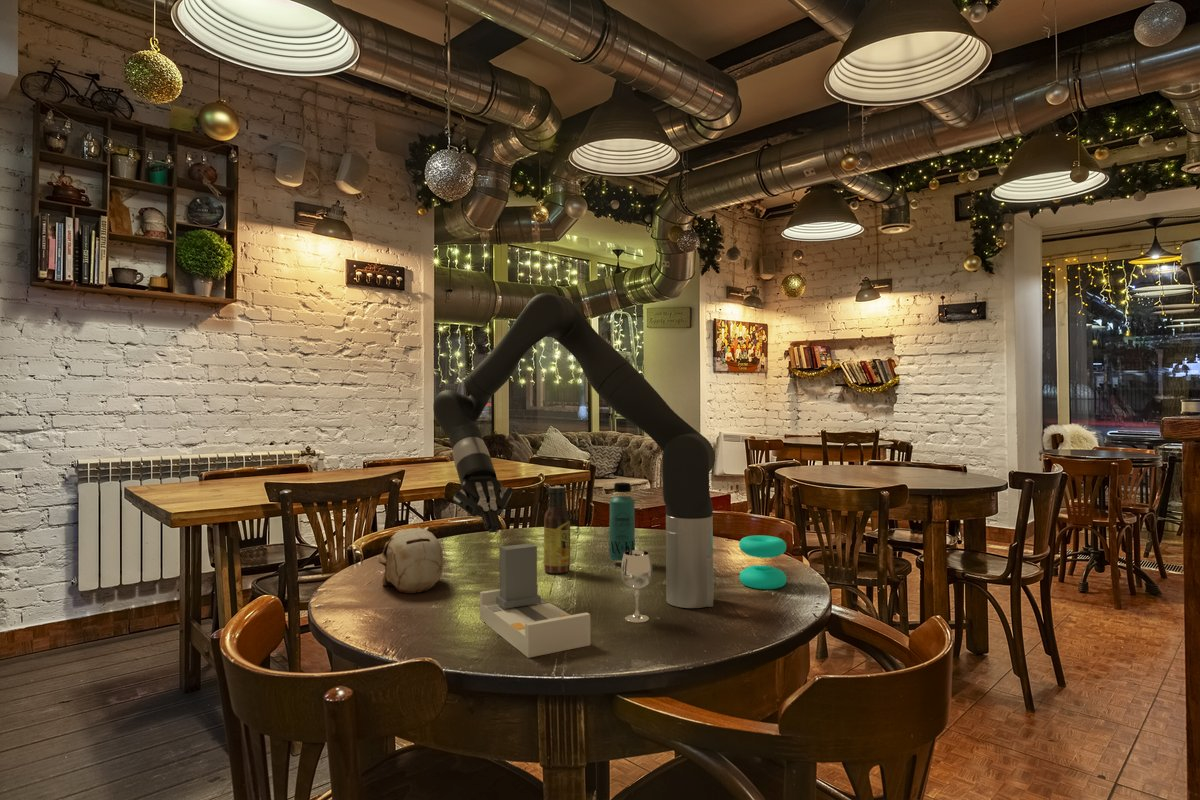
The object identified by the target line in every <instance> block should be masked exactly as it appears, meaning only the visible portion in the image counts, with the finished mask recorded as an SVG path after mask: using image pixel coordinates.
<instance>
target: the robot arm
mask: <svg viewBox="0 0 1200 800" xmlns="http://www.w3.org/2000/svg"><path fill="white" fill-rule="evenodd" d="M544 338H552V339H554V340H555V341H556V342H558V343H559V344H560V345H561V346H563V347H564V348H565V350H567V351H568V352H569V353H570V354H571V355H572V356H573V357H574V358H575V359H576V360H577V362H578V363H579V366H580V368H581V370H582V372H583V374H584V375H585V378H586V379H587V381H588V383H589V384H590V386H591V387H592V388H593V390H594V391H595V392H596V393H597V395H598V396H599V397H600V398H601V399H602V400H603V401H604V402H605V403H606V404H607V405H608V406H609V407H610V408H611V409H612V410H614V412H616V413H617V414H618V415H620V416H621V417H622V418H624V419H625V420H626V421H628V422H630V423H631V424H633V426H635V427H636V428H638V429H640V430H641V431H643V432H644V433H645V434H647V436H649V437H650V438H651V439H652V440H653V442H655V443H656V445H657V446H658V447H659V448H660V449H661V450H662V452H663V453H662V458H661V459H662V460H661V461H662V462H661V471H662V473H661V475H662V497H663V502H664V505H665V570H666V571H665V576H666V577H665V579H666V580H665V581H666V583H665V584H666V585H665V587H666V588H665V593H666V598H665V600H666V603H667V604H669V605H671V606H673V607H677V608H682V609H683V608H685V609H700V608H706V607H707V608H713V607H714V599H715V598H714V544H713V543H714V540H713V539H714V536H713V534H714V533H713V532H714V530H713V525H714V524H713V523H714V521H713V520H714V519H713V518H714V515H713V513H714V512H713V511H714V508H713V507H714V505H713V501H712V499H711V494H710V493H711V491H710V472H711V471H712V470H713V467H714V465H715V461H716V455H715V454H716V453H715V450H714V447H713V445H712V443H711V442H710V441H709V439H707V437H705V436H704V435H702V434H701V433H700V431H697V430H696V429H695V428H694V427H693V426H691V425H690V423H688V422H686V421H685V420H684V419H683V418H682V417H680V416H679V414H677V412H675V411H674V409H672V408H671V406H669V405H668V403H667V402H666V401H665V400H664V399H663V397H661V395H660V394H659V393H658V391H656V389H655V388H654V387H653V385H651V384H650V383H649V382H648V381H647V379H646V378H645V377H644V376H643V375H642V374H641V373H640V372H639V371H638V370H637V369H636V368H635V367H634V365H632V364H631V363H630V362H629V361H628V360H627V359H626V358H625V357H624V356H623V355H622V354H620V352H619V351H618V350H616V348H614V347H613V345H611V344H610V343H609V342H607V340H605V339H604V338H603V337H602V336H601V335H600V334H599V333H598V332H597V331H596V330H595V329H594V328H593V326H592V325H591V324H590V323H589V321H588V320H587V319H586V318H585V317H584V315H583V314H582V313H581V311H580V310H579V309H578V307H577V306H576V305H575V304H574V303H573V302H572V301H571V300H570V299H569V298H566V297H565V296H562V295H558V294H555V293H551V292H541V293H539V294H536V295H535V296H533V297H532V298H531V299H530V300H529V301H528V303H527V304H526V305H525V306H524V307H523V310H522V311H521V312H520V313H519V315H518V317H517V318H516V319H515V321H514V322H513V323H512V325H511V327H509V328H508V331H507V332H506V333H505V334H504V336H502V338H501V339H500V341H499V342H498V343H497V344H496V345H495V347H494V348H493V349H492V350H491V351H490V352H489V354H488V355H487V356H486V357H485V358H483V360H482V361H481V362H480V363H479V364H478V365H477V366H476V367H475V368H473V369H472V371H471V372H470V373H469V374H468V375H467V376H466V377H465V379H464V383H463V385H464V387H465V390H466V391H467V392H468V394H470V395H469V396H466V395H465V394H462V393H460V392H457V391H455V390H452V389H444V390H442V391H440V392H439V393H438V394H437V395H436V396H435V399H434V400H433V406H432V407H433V414H434V416H435V420H436V421H437V423H438V424H439V426H440V428H441V429H442V431H443V432H444V433H445V435H446V436H447V438H448V440H449V444H450V448H451V450H452V455H453V456H452V457H453V461H454V467H455V468H456V473H457V475H458V479H459V483H460V485H461V487H460V490H456V491H455V492H454V495H453V498H452V502H453V503H454V504H456V505H457V506H458V507H459V508H461V509H462V510H464V511H465V512H466V513H468V515H470V516H472V517H477V516H478V517H480V518H481V519H482V522H483V525H484V529H485V530H486V531H488V533H497V532H498V530H499V529H500V527H501V520H500V517H499V515H501V514H503V513H502V512H504V509H505V507H506V506H507V504H508V502H509V500H510V498H511V496H512V493H513V491H514V489H513V487H510V486H509V487H504V486H502V482H501V481H499V479H498V477H497V473H496V470H495V467H494V464H493V462H492V458H491V455H490V452H489V449H488V447H487V445H486V443H485V441H484V438H483V435H482V432H481V429H480V427H479V425H478V424H477V423H476V422H478V420H479V418H480V417H481V415H482V413H483V411H484V409H485V408H486V406H487V404H488V403H489V401H490V400H491V398H492V396H494V394H495V393H497V392H499V390H500V389H501V388H502V386H504V385H505V384H506V383H507V382H508V380H509V379H510V378H511V377H512V376H513V374H514V372H515V370H516V369H517V367H518V365H519V363H520V361H521V360H522V358H523V357H524V355H525V354H526V353H527V352H528V351H529V350H530V349H531V348H532V347H533V346H534V345H536V344H537V343H539V342H540V341H541V340H543V339H544ZM498 494H499V497H500V501H499V502H498V504H497V502H496V500H497V497H498Z"/></svg>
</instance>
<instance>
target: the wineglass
mask: <svg viewBox="0 0 1200 800" xmlns="http://www.w3.org/2000/svg"><path fill="white" fill-rule="evenodd" d="M620 575H621V579H622V582H623V583H624V584H625V585H626V586H628V587H629V588H632V589H634V591H633V592H634V593H633V595H634V599H635V600H634V601H635V610H634V613H633V614H629V615H626V616H625V617H624V620H625V621H626V622H630V623H645V622H648V621H649V620H650V618H649V616H648V615H645V614H641V613H640V611H639V599H640V594H641V593H640V590H639V589H643V588H645V587H646V586H647V585H649V584H650V583H651V581H652V577H653V563H652V560H651V555H650V552H649V551H647V550H639V549H638V550H636V549H635V550H632V551H626V552H624V555H623V559H622V561H621V566H620Z"/></svg>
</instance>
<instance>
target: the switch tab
mask: <svg viewBox="0 0 1200 800" xmlns="http://www.w3.org/2000/svg"><path fill="white" fill-rule="evenodd" d="M537 585H538V546H537V545H535V544H532V543H522V544H514V545H504V546H503V545H502V546H499V589H500V596H496V603H497V604H498V605H500V606H501V607H502V608H504V609H507V608H513V607H519V606H525V605H531V604H537V603H541V598H542V597H541V595H539V594H537Z"/></svg>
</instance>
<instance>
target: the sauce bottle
mask: <svg viewBox="0 0 1200 800" xmlns="http://www.w3.org/2000/svg"><path fill="white" fill-rule="evenodd" d="M566 489H567V488H566V486H549V487H548V497H549V498H548V499H549V503H548V508H547V510H546V511H545V514H544V517H543V519H544V520H543V521H544V523H543V524H544V526H543V565H544V566H543V570H544V572H545V573H547V574H554V575H555V574H557V575H558V574H559V573H560V574H565V573H568V572H569V571H570V566H571V519H570V516H569V513H568V510H567V507H566V492H567V490H566ZM560 574H559V575H560Z"/></svg>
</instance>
